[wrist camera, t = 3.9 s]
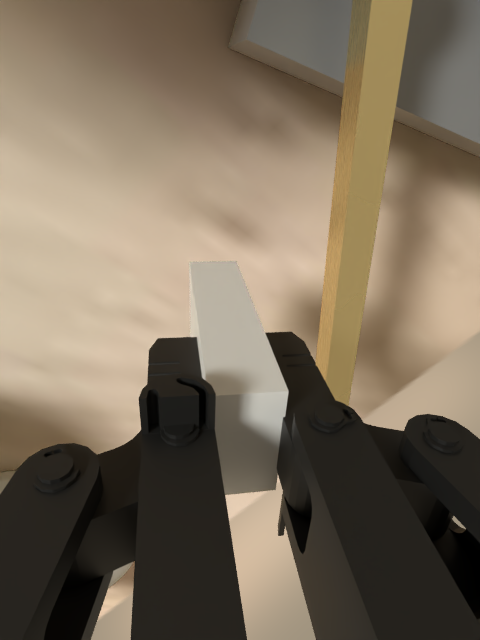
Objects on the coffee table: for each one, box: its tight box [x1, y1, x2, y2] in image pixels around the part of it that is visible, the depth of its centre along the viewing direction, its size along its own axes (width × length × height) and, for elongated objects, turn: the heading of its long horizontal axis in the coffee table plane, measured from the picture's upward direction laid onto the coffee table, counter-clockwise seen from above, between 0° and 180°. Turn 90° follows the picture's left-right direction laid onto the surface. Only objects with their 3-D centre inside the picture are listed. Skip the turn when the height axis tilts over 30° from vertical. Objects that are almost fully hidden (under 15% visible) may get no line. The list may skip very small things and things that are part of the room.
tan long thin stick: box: [316, 0, 413, 406], centre depth 13 cm, size 15×2×1 cm, turn 1°
